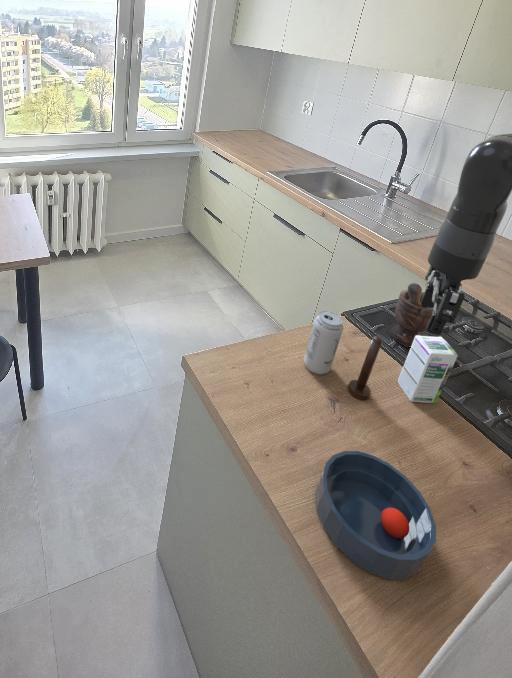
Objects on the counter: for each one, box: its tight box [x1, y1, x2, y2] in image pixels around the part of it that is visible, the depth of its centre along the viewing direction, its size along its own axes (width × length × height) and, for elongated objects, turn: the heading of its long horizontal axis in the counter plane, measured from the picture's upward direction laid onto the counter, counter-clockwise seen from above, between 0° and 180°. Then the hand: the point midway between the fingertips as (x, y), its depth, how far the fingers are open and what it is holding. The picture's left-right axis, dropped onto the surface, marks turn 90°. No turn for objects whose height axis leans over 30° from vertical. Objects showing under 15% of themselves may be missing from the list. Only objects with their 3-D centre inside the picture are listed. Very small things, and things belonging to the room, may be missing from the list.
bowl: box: [314, 450, 437, 580], centre depth 70 cm, size 16×16×6 cm
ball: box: [381, 508, 409, 539], centre depth 68 cm, size 4×4×4 cm
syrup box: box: [397, 335, 459, 404], centre depth 93 cm, size 6×6×14 cm
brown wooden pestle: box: [347, 335, 383, 401], centre depth 92 cm, size 4×4×16 cm
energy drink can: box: [303, 310, 344, 376], centre depth 99 cm, size 6×6×15 cm
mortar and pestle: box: [388, 282, 434, 348], centre depth 107 cm, size 12×9×20 cm
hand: (429, 318), depth 80 cm, fingers open, 8 cm apart
